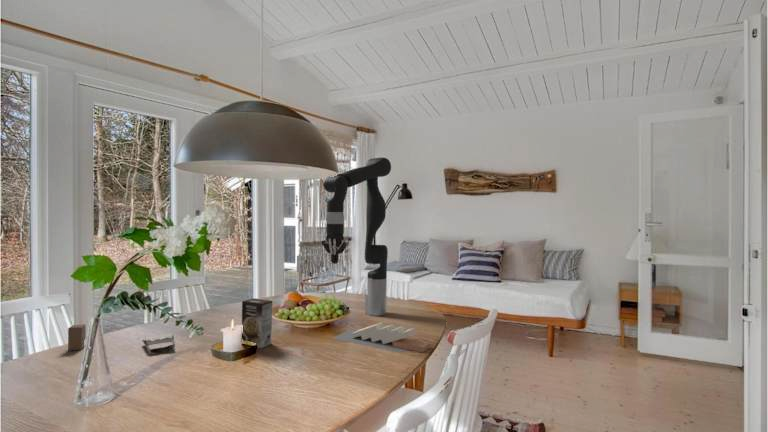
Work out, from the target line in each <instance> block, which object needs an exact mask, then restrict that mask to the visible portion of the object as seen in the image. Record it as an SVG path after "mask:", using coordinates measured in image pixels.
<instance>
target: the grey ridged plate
mask: <svg viewBox="0 0 768 432" xmlns="http://www.w3.org/2000/svg"><path fill="white" fill-rule="evenodd" d="M358 330H359V329H353V328H351V329H349V330H347V331H345V332H343V333H340V334H338V335H335V336H333V337H332V339H333V340H338V341H344V342H348V343H354V344H358V345H363V346H368V347H372V348H377V349H380V350H381V349H382V350H387V351H391V352H395V353H396V352H397V353H403V352H405V351H406V350H407V349H403V348H398V347H393V342H389V343H386V344H383V343H382V340H378V341H375V342H372V340H371V338H368V339H365V340H362V338H361V336H358V337H355V338H352V336H351V333H354V332H356V331H358Z"/></svg>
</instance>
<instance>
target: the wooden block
mask: <svg viewBox="0 0 768 432" xmlns="http://www.w3.org/2000/svg"><path fill="white" fill-rule="evenodd" d="M86 327H87V326H86V324H84V323H82V324H72V325H71V326H70V327H68V330H67V335H68V338H67V350H68V351H69V352H70V351H72V350H73V351H82V350H83V349H84V348H85V347H84V340H85V338H86V330H87V329H86Z"/></svg>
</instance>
